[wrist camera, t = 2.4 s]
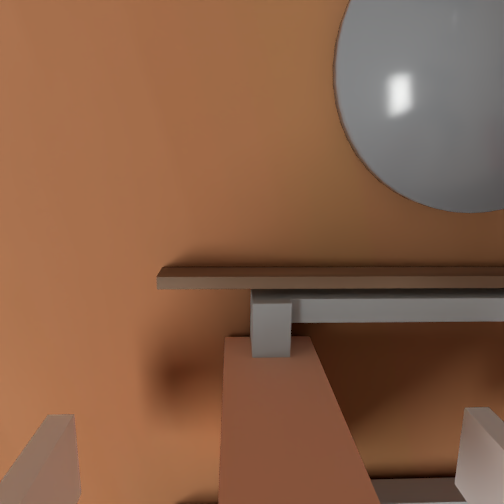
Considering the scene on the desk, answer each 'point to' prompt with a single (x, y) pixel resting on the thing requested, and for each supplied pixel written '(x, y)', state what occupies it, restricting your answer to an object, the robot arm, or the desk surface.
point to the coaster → (425, 98)
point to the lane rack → (329, 277)
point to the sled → (318, 398)
